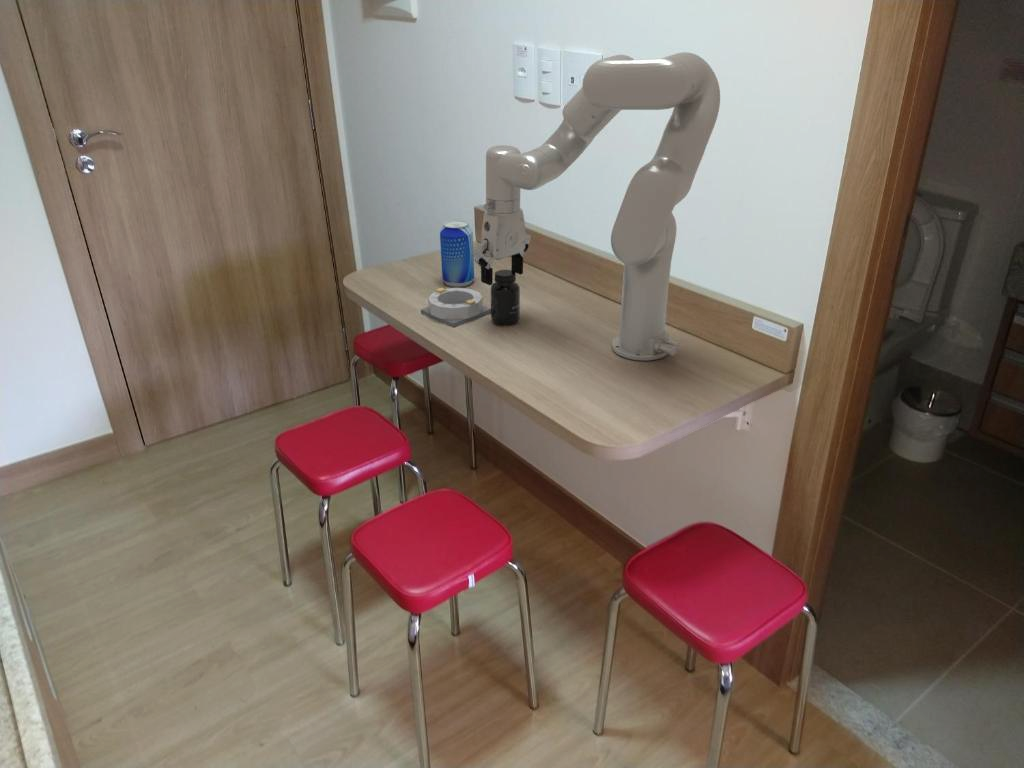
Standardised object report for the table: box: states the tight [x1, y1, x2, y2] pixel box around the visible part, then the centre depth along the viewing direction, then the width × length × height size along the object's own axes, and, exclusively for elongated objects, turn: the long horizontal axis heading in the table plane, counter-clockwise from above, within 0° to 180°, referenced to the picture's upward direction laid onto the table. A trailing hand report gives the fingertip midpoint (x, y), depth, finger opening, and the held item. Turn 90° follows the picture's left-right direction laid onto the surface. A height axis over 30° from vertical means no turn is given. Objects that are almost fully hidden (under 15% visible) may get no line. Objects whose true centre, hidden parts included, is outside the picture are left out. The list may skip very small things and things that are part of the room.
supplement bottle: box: [490, 269, 521, 327], centre depth 184 cm, size 7×7×12 cm
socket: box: [420, 287, 491, 328], centre depth 190 cm, size 12×12×5 cm
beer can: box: [439, 219, 475, 288], centre depth 206 cm, size 8×8×16 cm
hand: (502, 277), depth 182 cm, fingers open, 9 cm apart
